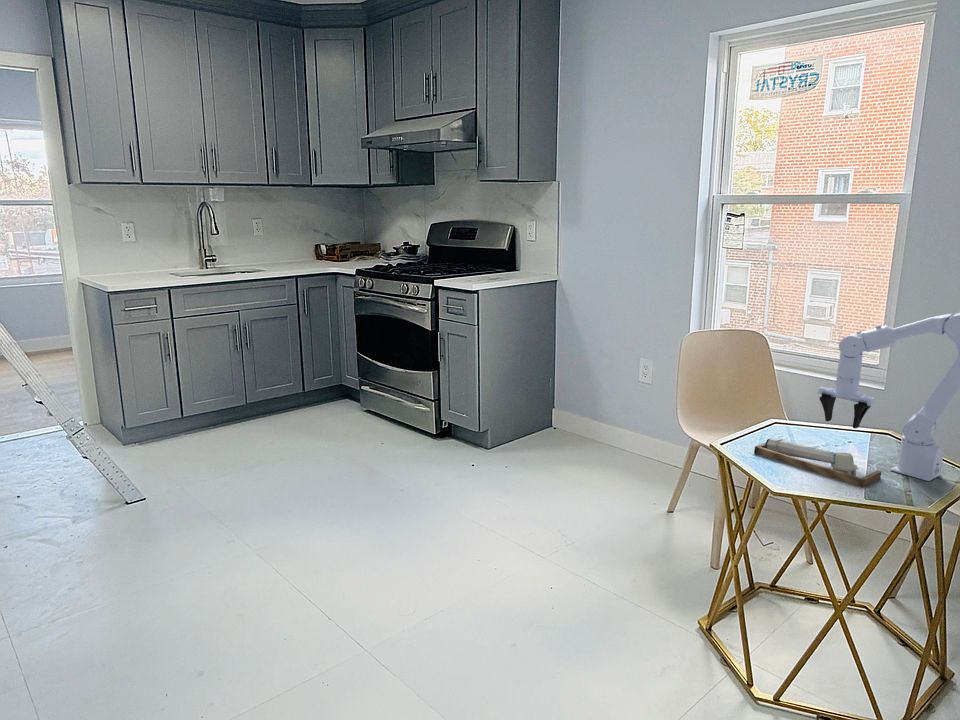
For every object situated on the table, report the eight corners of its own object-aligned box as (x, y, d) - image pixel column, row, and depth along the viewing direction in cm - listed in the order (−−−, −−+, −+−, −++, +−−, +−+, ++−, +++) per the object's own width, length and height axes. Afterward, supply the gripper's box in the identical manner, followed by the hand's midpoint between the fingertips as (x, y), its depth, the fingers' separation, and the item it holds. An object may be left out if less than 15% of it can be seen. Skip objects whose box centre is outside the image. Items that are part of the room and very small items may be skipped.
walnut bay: (880, 478, 180) (881, 471, 179) (862, 487, 174) (863, 480, 173) (773, 446, 203) (773, 439, 202) (754, 453, 197) (754, 446, 196)
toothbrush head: (774, 436, 200) (861, 450, 180) (774, 458, 201) (861, 475, 180) (763, 439, 197) (850, 454, 177) (763, 462, 198) (850, 479, 177)
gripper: (815, 374, 194) (809, 420, 197) (868, 385, 183) (861, 433, 186) (827, 370, 198) (821, 415, 201) (880, 381, 187) (873, 428, 190)
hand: (841, 424), depth 194 cm, fingers open, 7 cm apart
